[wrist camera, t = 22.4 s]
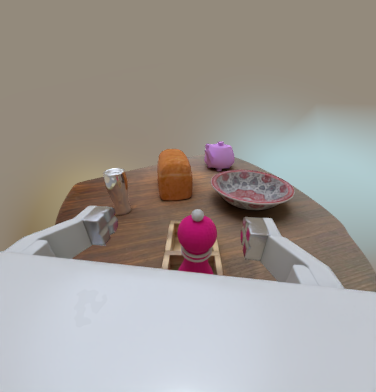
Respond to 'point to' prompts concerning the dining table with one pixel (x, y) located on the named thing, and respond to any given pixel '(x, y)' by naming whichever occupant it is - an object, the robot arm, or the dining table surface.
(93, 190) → the dining table surface
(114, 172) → the metal cup
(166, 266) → the divided wooden box
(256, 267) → the dining table surface
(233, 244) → the dining table surface
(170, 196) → the bread
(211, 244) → the pepper mill
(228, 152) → the teapot
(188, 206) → the dining table surface
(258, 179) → the ceramic bowl
